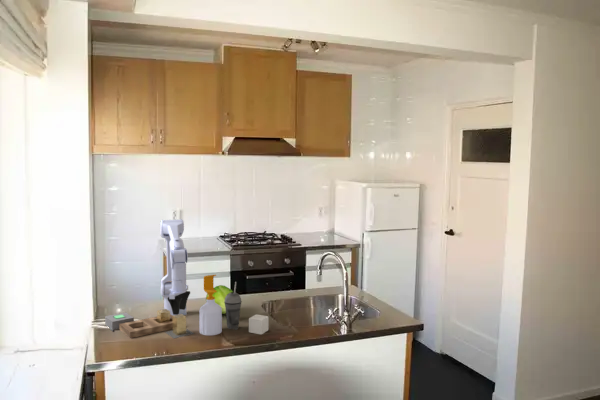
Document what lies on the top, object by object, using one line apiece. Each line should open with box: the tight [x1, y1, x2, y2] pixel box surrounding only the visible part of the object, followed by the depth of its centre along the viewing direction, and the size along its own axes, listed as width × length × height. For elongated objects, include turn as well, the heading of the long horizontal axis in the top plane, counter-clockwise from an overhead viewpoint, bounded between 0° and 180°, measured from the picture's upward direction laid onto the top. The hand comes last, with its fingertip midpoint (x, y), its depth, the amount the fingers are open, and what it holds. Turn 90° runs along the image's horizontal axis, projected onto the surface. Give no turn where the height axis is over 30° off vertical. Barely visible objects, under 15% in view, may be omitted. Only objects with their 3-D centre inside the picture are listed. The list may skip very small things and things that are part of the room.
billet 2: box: [172, 314, 187, 335], centre depth 208 cm, size 4×4×7 cm
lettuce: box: [205, 284, 234, 315], centre depth 234 cm, size 14×20×12 cm
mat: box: [164, 328, 195, 339], centre depth 208 cm, size 9×9×1 cm
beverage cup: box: [224, 281, 243, 331], centre depth 215 cm, size 7×7×20 cm
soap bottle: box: [198, 274, 223, 336], centre depth 209 cm, size 9×9×25 cm
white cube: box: [248, 313, 269, 335], centre depth 213 cm, size 6×6×6 cm
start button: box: [114, 315, 125, 319], centre depth 217 cm, size 4×4×3 cm
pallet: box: [119, 314, 173, 339], centre depth 213 cm, size 22×12×3 cm, turn 129°
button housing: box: [104, 311, 135, 332], centre depth 217 cm, size 9×9×4 cm
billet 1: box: [156, 308, 170, 324], centre depth 216 cm, size 4×4×7 cm
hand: (179, 311), depth 208 cm, fingers open, 6 cm apart
